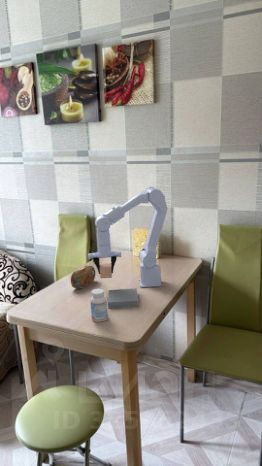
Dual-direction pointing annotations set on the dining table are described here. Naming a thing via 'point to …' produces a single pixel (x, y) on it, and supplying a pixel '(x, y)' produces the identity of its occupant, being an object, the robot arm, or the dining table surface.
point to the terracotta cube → (105, 270)
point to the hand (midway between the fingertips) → (106, 272)
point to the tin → (83, 277)
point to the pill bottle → (98, 305)
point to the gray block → (122, 298)
